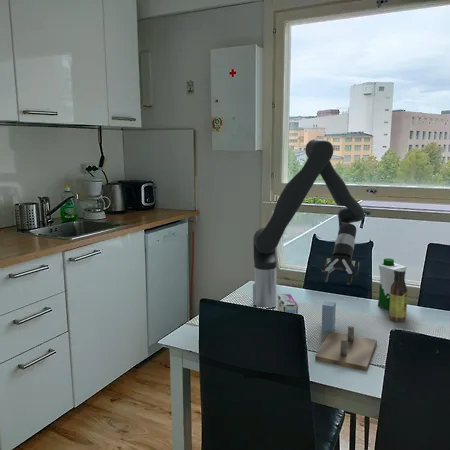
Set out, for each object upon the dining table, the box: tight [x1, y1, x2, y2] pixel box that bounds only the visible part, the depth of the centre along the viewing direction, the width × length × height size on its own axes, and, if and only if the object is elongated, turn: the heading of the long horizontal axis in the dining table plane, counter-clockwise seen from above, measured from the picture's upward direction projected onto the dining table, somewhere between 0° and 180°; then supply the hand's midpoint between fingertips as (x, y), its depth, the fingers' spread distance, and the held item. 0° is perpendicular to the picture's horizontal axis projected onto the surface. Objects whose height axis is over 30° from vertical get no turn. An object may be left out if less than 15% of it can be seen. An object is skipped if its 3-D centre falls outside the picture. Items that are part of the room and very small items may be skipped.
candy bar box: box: [276, 293, 299, 314], centre depth 152 cm, size 11×5×16 cm, turn 5°
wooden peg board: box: [314, 325, 378, 372], centre depth 146 cm, size 16×20×6 cm
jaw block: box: [321, 300, 337, 333], centre depth 163 cm, size 4×4×10 cm
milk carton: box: [377, 258, 407, 311], centre depth 182 cm, size 9×9×20 cm
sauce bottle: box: [388, 269, 409, 323], centre depth 170 cm, size 7×6×20 cm
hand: (336, 282), depth 171 cm, fingers open, 8 cm apart
